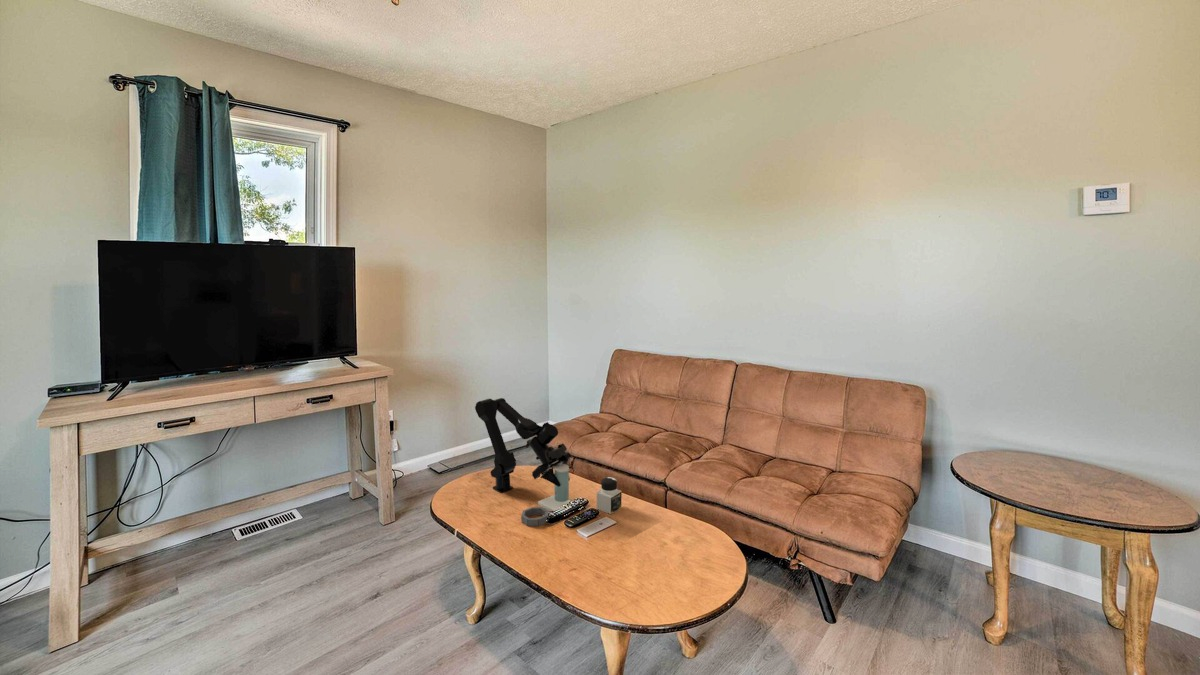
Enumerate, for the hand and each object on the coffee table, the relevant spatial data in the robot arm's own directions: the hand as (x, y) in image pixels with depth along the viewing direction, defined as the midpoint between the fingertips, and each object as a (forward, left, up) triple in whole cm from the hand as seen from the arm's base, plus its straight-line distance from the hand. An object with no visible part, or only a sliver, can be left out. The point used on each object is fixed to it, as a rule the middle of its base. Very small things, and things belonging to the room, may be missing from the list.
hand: (564, 483), depth 188 cm
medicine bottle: (+12, +13, -11) cm, 20 cm away
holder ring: (-1, -13, -10) cm, 17 cm away
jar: (-1, 0, -7) cm, 7 cm away
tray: (-2, 0, -10) cm, 11 cm away
